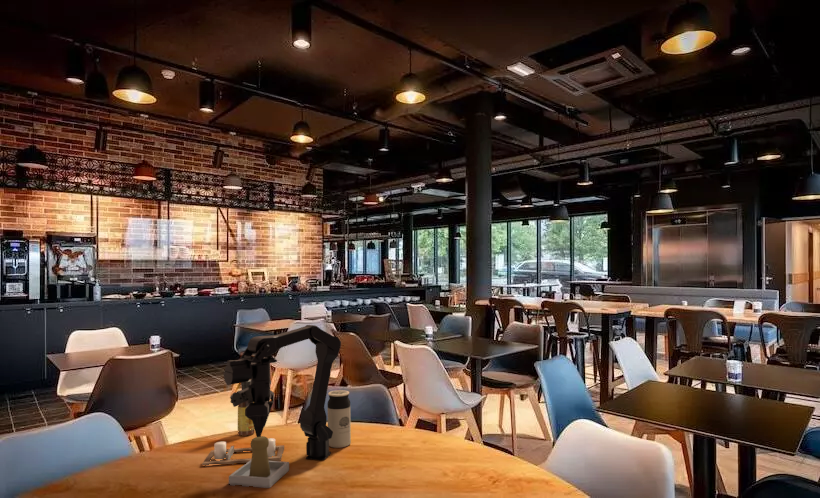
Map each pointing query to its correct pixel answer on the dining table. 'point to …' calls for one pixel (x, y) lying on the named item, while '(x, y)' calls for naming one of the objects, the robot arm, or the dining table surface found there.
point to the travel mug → (339, 418)
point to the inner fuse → (271, 447)
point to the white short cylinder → (220, 450)
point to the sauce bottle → (243, 421)
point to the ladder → (230, 453)
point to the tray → (244, 479)
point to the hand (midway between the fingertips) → (260, 431)
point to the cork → (259, 457)
